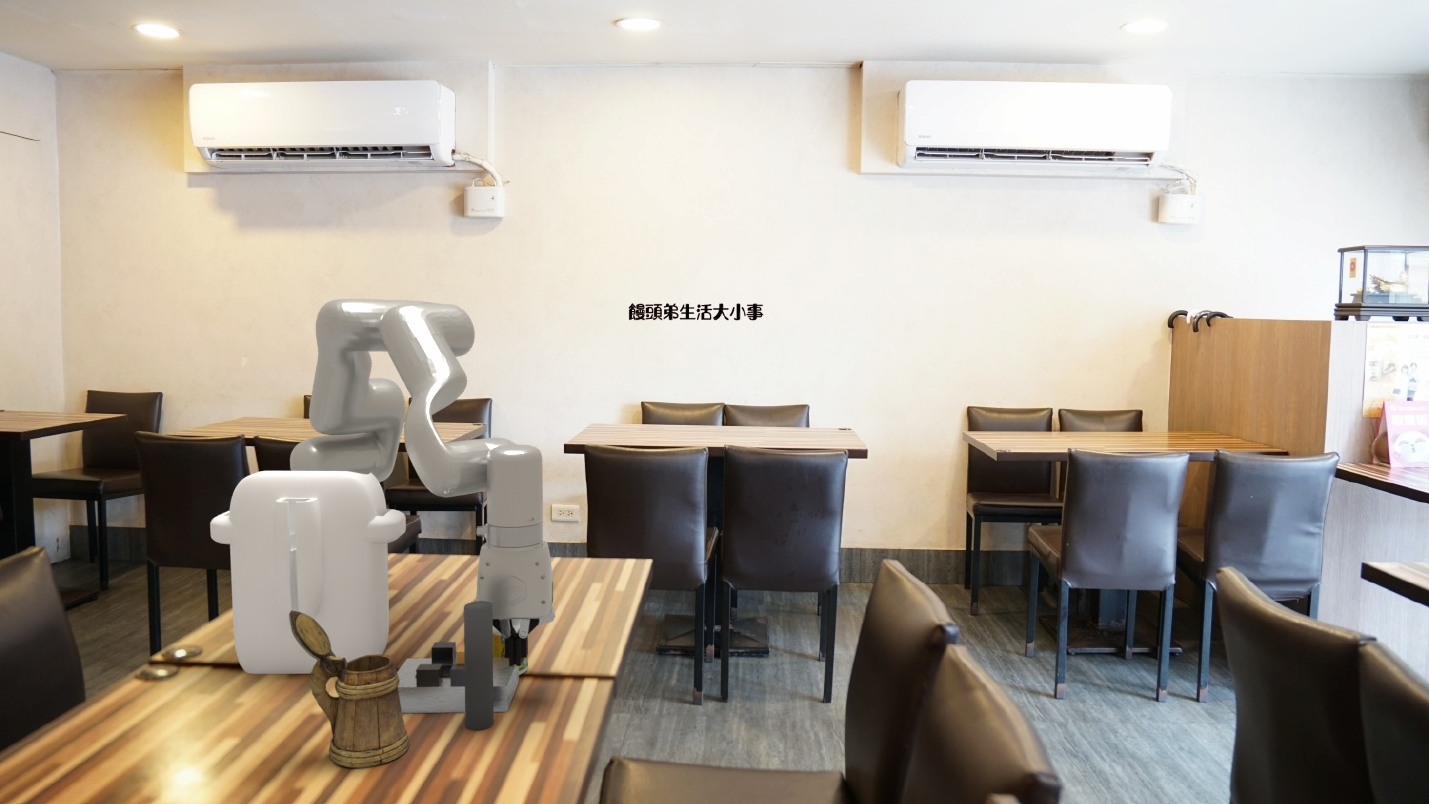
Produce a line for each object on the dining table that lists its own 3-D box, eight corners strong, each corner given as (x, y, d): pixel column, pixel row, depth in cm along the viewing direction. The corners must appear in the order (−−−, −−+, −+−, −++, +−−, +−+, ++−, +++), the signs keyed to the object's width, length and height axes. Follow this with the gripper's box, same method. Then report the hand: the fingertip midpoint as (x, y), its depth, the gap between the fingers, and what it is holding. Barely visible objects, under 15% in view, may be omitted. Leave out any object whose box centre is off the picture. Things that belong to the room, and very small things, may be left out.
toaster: (198, 683, 129) (189, 478, 126) (235, 654, 140) (227, 464, 137) (392, 681, 131) (387, 478, 128) (412, 652, 142) (409, 465, 139)
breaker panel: (386, 713, 120) (385, 670, 120) (407, 682, 130) (406, 642, 130) (507, 711, 121) (506, 668, 121) (518, 681, 131) (518, 641, 131)
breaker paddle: (456, 672, 124) (456, 651, 124) (461, 664, 127) (460, 643, 127) (478, 672, 124) (478, 651, 124) (482, 664, 127) (482, 643, 127)
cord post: (462, 730, 116) (460, 610, 114) (468, 717, 119) (467, 601, 118) (490, 730, 116) (489, 610, 114) (495, 717, 120) (494, 601, 118)
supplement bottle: (520, 661, 139) (519, 601, 138) (533, 673, 134) (532, 611, 133) (486, 668, 136) (485, 607, 135) (498, 680, 131) (497, 617, 130)
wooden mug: (306, 736, 114) (301, 598, 112) (416, 732, 115) (413, 596, 113) (280, 772, 105) (275, 623, 103) (399, 767, 106) (396, 620, 105)
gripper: (454, 541, 120) (456, 673, 122) (566, 541, 121) (567, 672, 123) (466, 528, 127) (468, 653, 129) (572, 527, 128) (572, 651, 130)
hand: (516, 662), depth 126 cm, fingers closed
